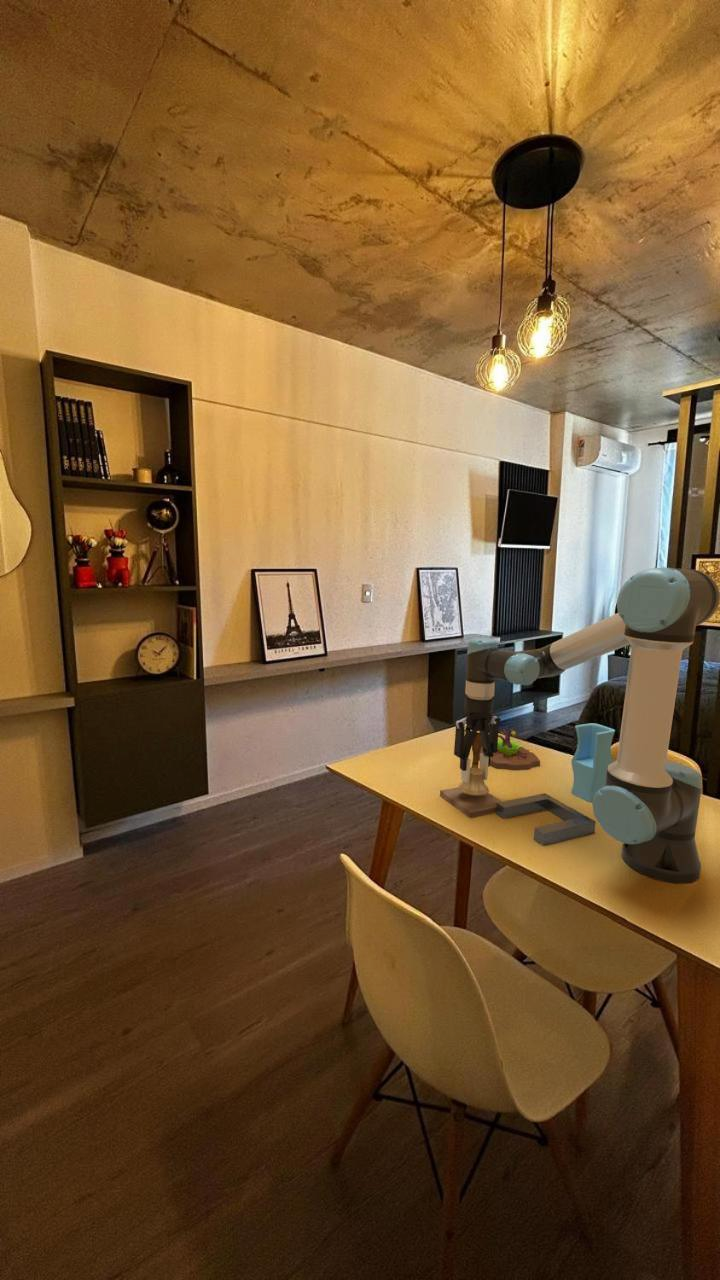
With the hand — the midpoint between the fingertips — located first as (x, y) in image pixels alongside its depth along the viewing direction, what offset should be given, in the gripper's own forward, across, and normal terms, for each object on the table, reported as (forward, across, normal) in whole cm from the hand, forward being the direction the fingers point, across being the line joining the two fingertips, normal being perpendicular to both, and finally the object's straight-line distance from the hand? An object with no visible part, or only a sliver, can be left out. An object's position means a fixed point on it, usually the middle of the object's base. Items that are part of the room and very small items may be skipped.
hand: (474, 779), depth 142 cm
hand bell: (+3, 0, 0) cm, 3 cm away
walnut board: (+7, 0, 0) cm, 7 cm away
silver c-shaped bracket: (+7, -10, +16) cm, 20 cm away
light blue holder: (+7, -35, +8) cm, 37 cm away
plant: (+7, -31, -23) cm, 39 cm away
